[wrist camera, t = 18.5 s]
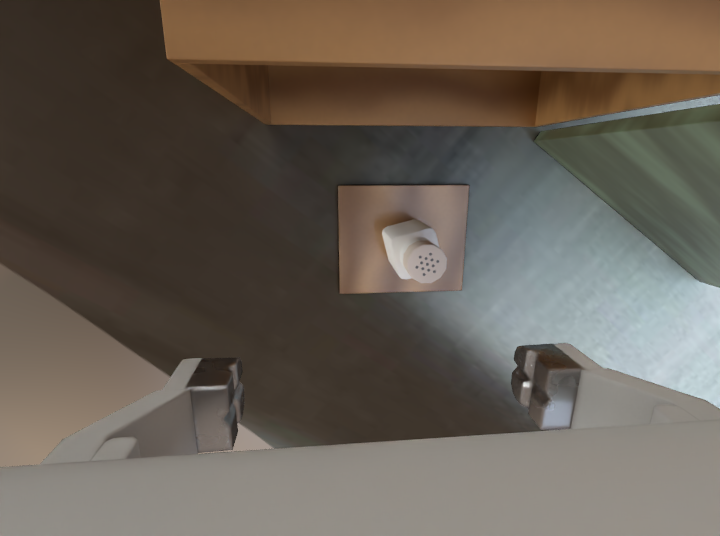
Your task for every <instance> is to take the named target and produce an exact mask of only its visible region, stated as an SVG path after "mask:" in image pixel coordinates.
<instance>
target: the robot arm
mask: <svg viewBox="0 0 720 536" xmlns="http://www.w3.org/2000/svg"><path fill="white" fill-rule="evenodd" d="M514 361H515V362H516V364H517V365H518V366H517V368H516V369H515V370H514V371H513V372H512V379H511V385H512V390H513V394H514V396H515V398H516V400H517V401H518V402H519V403H520V404H521V405H523V406H525V407H527V408H528V409H529V412H528V414H529V416H530V417H531V418H532V419H533V420H534V422H535V423H536V424H537V425H538V426H539V428H540V429H567V428H570V429H567V430H552V431H537V432H522V433H507V434H492V435H477V436H462V437H447V438H431V439H416V440H401V441H386V442H371V443H355V444H340V445H325V446H310V447H295V448H279V449H264V450H250V451H234V452H220V453H205V454H198V453H202V452H213V451H223V450H233V446H234V443H235V440H236V436H237V432H238V428H237V423H239V422H240V421H241V419H242V415H243V410H244V386H243V385H242V384H241V383H240V378H241V375H242V372H243V371H242V362H241V359H240V357H237V358H204V359H203V358H194V359H183V360H182V361H181V363H180V364H179V366H178V367H177V369H176V370H175V371H174V373H173V374H172V376H171V377H170V379H169V380H168V382H167V383H166V385H165V386H164V388H163V389H162V390H160V391H154V392H152V393H151V394H149V395H147V396H145V397H143V398H141V399H139V400H137V401H135V402H133V403H131V404H129V405H127V406H126V407H124V408H122V409H120V410H118V411H116V412H114V413H112V414H110V415H108V416H106V417H104V418H102V419H101V420H99V421H97V422H95V423H93V424H91V425H89V426H87V427H85V428H83V429H81V430H79V431H78V432H76V433H74V434H72V435H70V436H68V437H66V438H64V439H62V440H61V442H60V443H59V444H58V445H57V446H56V447H55V448H54V449H53V451H52V452H51V453H50V454H49V455H48V456H47V457H46V458H45V459H44V460H43V461H42V462H41V464H39V465H26V466H9V467H0V536H720V409H719V408H717V407H716V406H714V405H713V404H711V403H709V402H708V401H706V400H703V399H700V398H697V397H694V396H691V395H687V394H684V393H681V392H678V391H675V390H672V389H669V388H666V387H663V386H660V385H657V384H654V383H651V382H648V381H645V380H642V379H639V378H636V377H633V376H630V375H627V374H624V373H621V372H618V371H615V370H612V369H609V368H607V369H603V368H602V367H601V366H599V365H598V364H597V363H595V362H594V361H593V360H591V359H590V358H588V357H587V356H586V355H584V354H583V353H582V352H580V351H579V350H577V349H576V348H575V347H573V346H572V345H571V344H568V343H558V344H540V345H525V346H519V347H517V349H516V351H515V355H514Z"/></svg>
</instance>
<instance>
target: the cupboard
mask: <svg viewBox="0 0 720 536" xmlns="http://www.w3.org/2000/svg"><path fill="white" fill-rule="evenodd" d="M160 5H161V13H162V22H163V30H164V39H165V47H166V56H167V59H168V60H169V61H171V62H172V63H174V64H176V65H177V66H179V67H180V68H182V69H183V70H185V71H186V72H188V73H189V74H191V75H192V76H194V77H195V78H197V79H198V80H200V81H201V82H203V83H204V84H206V85H207V86H209V87H210V88H212V89H213V90H215V91H216V92H218V93H219V94H221V95H222V96H224V97H225V98H227V99H228V100H230V101H231V102H233V103H234V104H236V105H237V106H239V107H240V108H242V109H243V110H245V111H246V112H248V113H249V114H251V115H252V116H254V117H255V118H257V119H258V120H260V121H261V122H263V123H264V124H266V125H352V126H476V127H540V126H546V125H551V124H557V123H563V122H569V121H574V120H580V119H586V118H591V117H597V116H603V115H609V114H614V113H620V112H626V111H631V110H637V109H643V108H648V107H654V106H660V105H666V104H671V103H677V102H683V101H688V100H694V99H700V98H706V97H711V96H717V95H720V0H160Z"/></svg>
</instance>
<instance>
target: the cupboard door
mask: <svg viewBox="0 0 720 536" xmlns="http://www.w3.org/2000/svg"><path fill="white" fill-rule="evenodd" d="M534 142H535V143H536V144H538V145H539V146H540V147H541V148H542V149H543V150H545V151H546V152H547V153H548V154H549V155H551V156H552V157H553V158H554V159H555V160H556V161H558V162H559V163H560V164H561V165H562V166H564V167H565V168H566V169H567V170H568V171H569V172H571V173H572V174H573V175H574V176H575V177H577V178H578V179H579V180H580V181H581V182H583V183H584V184H585V185H586V186H587V187H588V188H590V189H591V190H592V191H593V192H594V193H596V194H597V195H598V196H599V197H600V198H601V199H603V200H604V201H605V202H606V203H607V204H609V205H610V206H611V207H612V208H613V209H614V210H616V211H617V212H618V213H619V214H620V215H622V216H623V217H624V218H625V219H626V220H628V221H629V222H630V223H631V224H632V225H633V226H635V227H636V228H637V229H638V230H639V231H641V232H642V233H643V234H644V235H645V236H646V237H648V238H649V239H650V240H651V241H652V242H654V243H655V244H656V245H657V246H658V247H659V248H661V249H662V250H663V251H664V252H665V253H667V254H668V255H669V256H670V257H671V258H673V259H674V260H675V261H676V262H677V263H678V264H680V265H681V266H682V267H683V268H684V269H686V270H687V271H688V272H689V273H690V274H691V275H693V276H694V277H695V278H696V279H697V280H699V281H700V282H703V283H706V284H709V285H713V286H716V287H719V288H720V104H717V105H710V106H704V107H697V108H690V109H684V110H677V111H671V112H664V113H658V114H651V115H644V116H638V117H631V118H625V119H618V120H612V121H605V122H598V123H592V124H585V125H579V126H572V127H566V128H559V129H553V130H546V131H541V132H540V134H539V135H538V136H537V138H536V139H535V140H534Z"/></svg>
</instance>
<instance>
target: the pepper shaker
mask: <svg viewBox="0 0 720 536" xmlns="http://www.w3.org/2000/svg"><path fill="white" fill-rule="evenodd" d="M382 236H383V240H384V244H385V248H386V252H387V256H388V260H389V262H390V264H391V265H392V267H393V268H394V270H395V271H396V273H397V274H398V276H399V277H400V278H401V279H406V280H407V279H414V280H416V281H418V282H419V283H432V282H434V281H436V280H438V279H439V278H441V276H442V275H443V273H444V272H445V270H446V266H447V258H446V256H445V254H444V252H443V250H442V249H441V248H439V244H438V239H437V236H436V232H435V231H434V230H433V228H431V227H430V226H428V225H426V224H425V223H423V222H421V221H419V220H416V219H413V220H409V221H406V222H402V223H398V224H395V225H391V226H387V227H385V228H384V229H383V231H382Z"/></svg>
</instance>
